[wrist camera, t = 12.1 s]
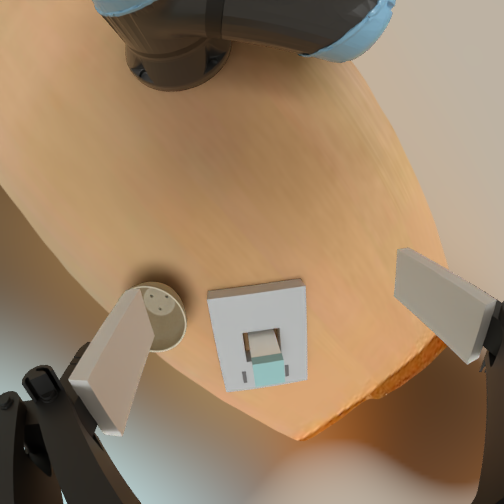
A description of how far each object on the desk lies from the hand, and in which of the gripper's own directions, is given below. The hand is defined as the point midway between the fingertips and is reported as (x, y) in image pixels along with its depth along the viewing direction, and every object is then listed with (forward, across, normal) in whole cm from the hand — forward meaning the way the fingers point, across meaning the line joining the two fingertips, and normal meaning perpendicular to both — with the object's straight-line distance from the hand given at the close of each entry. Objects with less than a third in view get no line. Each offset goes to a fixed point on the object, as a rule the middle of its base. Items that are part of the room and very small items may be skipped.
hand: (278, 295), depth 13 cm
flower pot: (+27, -14, -12) cm, 33 cm away
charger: (+26, 0, -21) cm, 34 cm away
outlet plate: (+26, 0, -20) cm, 34 cm away
